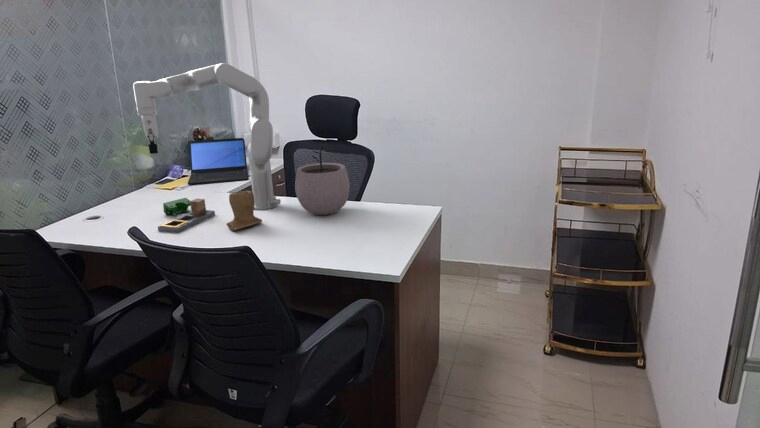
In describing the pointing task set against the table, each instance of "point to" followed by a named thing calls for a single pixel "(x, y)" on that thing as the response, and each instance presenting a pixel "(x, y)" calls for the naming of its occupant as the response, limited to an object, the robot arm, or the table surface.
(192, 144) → the laptop
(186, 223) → the grey slotted board
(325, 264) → the table surface
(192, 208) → the peg
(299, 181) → the plant pot
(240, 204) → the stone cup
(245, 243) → the table surface
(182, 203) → the green toy truck
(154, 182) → the table surface
